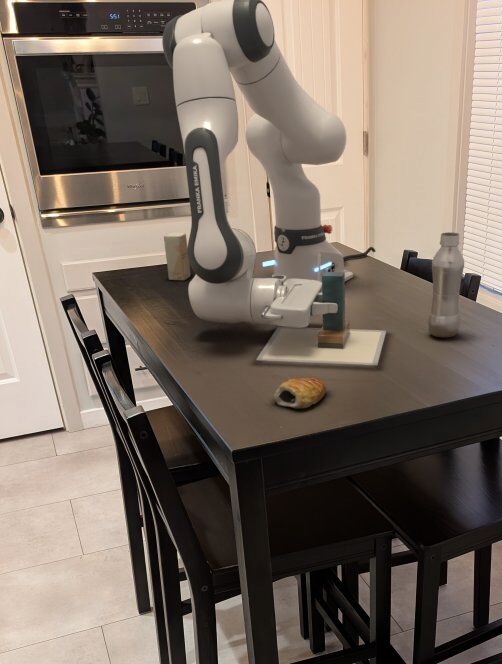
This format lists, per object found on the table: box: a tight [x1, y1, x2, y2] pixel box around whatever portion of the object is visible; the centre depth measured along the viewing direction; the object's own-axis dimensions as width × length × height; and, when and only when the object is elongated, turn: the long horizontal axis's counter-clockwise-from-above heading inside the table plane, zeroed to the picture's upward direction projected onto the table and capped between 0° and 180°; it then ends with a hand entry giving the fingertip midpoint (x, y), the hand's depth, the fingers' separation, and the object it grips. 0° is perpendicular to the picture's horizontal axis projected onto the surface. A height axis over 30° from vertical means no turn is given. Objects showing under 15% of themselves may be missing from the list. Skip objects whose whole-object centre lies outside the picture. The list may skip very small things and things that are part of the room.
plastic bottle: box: [427, 232, 465, 338], centre depth 143 cm, size 6×7×20 cm
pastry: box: [273, 377, 327, 410], centre depth 121 cm, size 9×7×4 cm
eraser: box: [318, 272, 351, 349], centre depth 141 cm, size 5×10×13 cm, turn 172°
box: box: [163, 231, 191, 281], centre depth 187 cm, size 5×4×11 cm
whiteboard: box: [255, 326, 387, 366], centre depth 143 cm, size 23×20×1 cm
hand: (339, 304), depth 141 cm, fingers closed on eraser, 3 cm apart
